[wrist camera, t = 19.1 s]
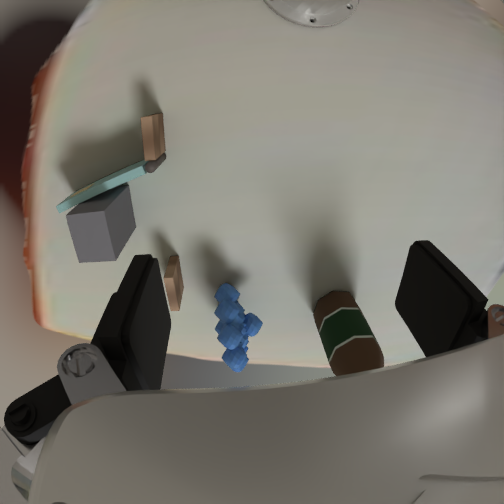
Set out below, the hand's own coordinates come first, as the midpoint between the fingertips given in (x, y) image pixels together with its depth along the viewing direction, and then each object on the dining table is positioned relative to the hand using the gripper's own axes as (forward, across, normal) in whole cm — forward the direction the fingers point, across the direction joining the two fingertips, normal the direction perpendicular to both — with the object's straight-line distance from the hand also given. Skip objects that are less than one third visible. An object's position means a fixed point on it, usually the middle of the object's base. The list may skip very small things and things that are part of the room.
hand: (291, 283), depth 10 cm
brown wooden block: (+28, +10, +8) cm, 31 cm away
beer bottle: (+28, -14, +26) cm, 41 cm away
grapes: (+28, +2, +23) cm, 37 cm away
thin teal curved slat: (+28, +18, +2) cm, 33 cm away
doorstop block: (+28, +18, +7) cm, 34 cm away
